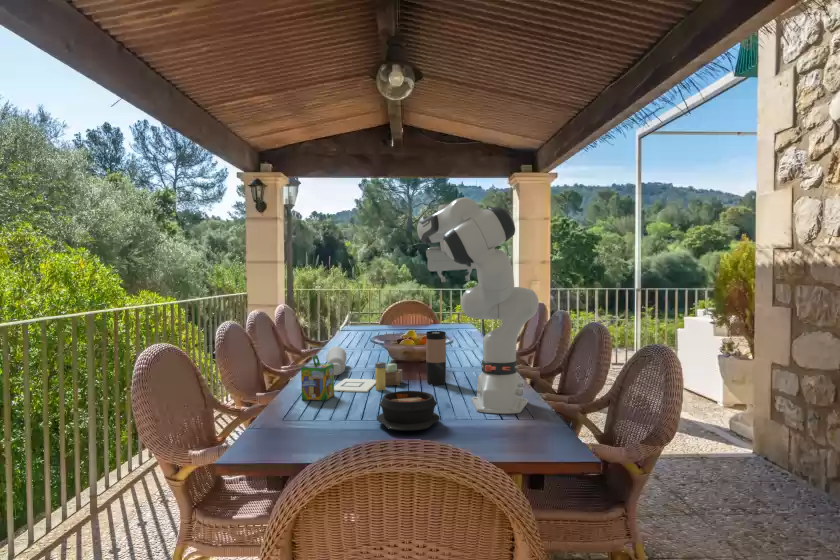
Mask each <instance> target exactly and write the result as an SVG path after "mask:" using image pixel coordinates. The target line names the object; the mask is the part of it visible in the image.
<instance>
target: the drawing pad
mask: <svg viewBox="0 0 840 560" xmlns="http://www.w3.org/2000/svg"><path fill="white" fill-rule="evenodd" d="M374 386H376V378H375V379H371V378H364V379H363V378H343V380H341V381H340V382H338V383H337V384H336V385H334V391H340V392H339V393H366V392H367V393H368V392H369V391H371V389H372V388H373V387H374ZM343 391H344V392H343Z"/></svg>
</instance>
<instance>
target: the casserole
mask: <svg viewBox="0 0 840 560" xmlns="http://www.w3.org/2000/svg"><path fill="white" fill-rule="evenodd" d="M437 404H438V402H437V400H435V397H434V395H433V394H431V393H429V392H426V391H419V390H398V391H393V392H388V393H386V394H384V395H383V396H382V399H381V401H380V402H379V406H380V407H381V411H382V413H380V414H378V416H377V417H376V420H377V422H379V423H381V424H382V425H384V426H385V427H386V428H387V429H389V430H391V431H392V430H394V431H401V432H403V431H404V432H409V431H410V432H411V431H422V430H427V429H428V428H430V427H432V425H433V424H436V423H437V422H439V420H440V419H441V417H440V416H439V415H438V414H437V413H436V412H435V409H436V406H437Z"/></svg>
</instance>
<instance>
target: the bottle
mask: <svg viewBox="0 0 840 560" xmlns="http://www.w3.org/2000/svg"><path fill="white" fill-rule="evenodd" d="M325 357H326V358H325V359H326V364H334V376H339V375H341V374H343V373H344V372H345V369H346V362H347V352H346V350H345V349H343V348H342V347H341V346H339V345H336V346H332V347H330V348H329V350H328V351H327V353H326V355H325Z"/></svg>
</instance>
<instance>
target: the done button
mask: <svg viewBox="0 0 840 560" xmlns="http://www.w3.org/2000/svg"><path fill="white" fill-rule="evenodd" d="M386 369H387V372H397V369H398V365H397V363H387V364H386Z"/></svg>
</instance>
